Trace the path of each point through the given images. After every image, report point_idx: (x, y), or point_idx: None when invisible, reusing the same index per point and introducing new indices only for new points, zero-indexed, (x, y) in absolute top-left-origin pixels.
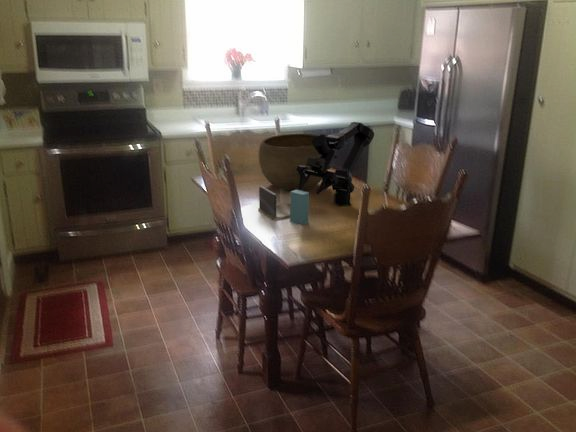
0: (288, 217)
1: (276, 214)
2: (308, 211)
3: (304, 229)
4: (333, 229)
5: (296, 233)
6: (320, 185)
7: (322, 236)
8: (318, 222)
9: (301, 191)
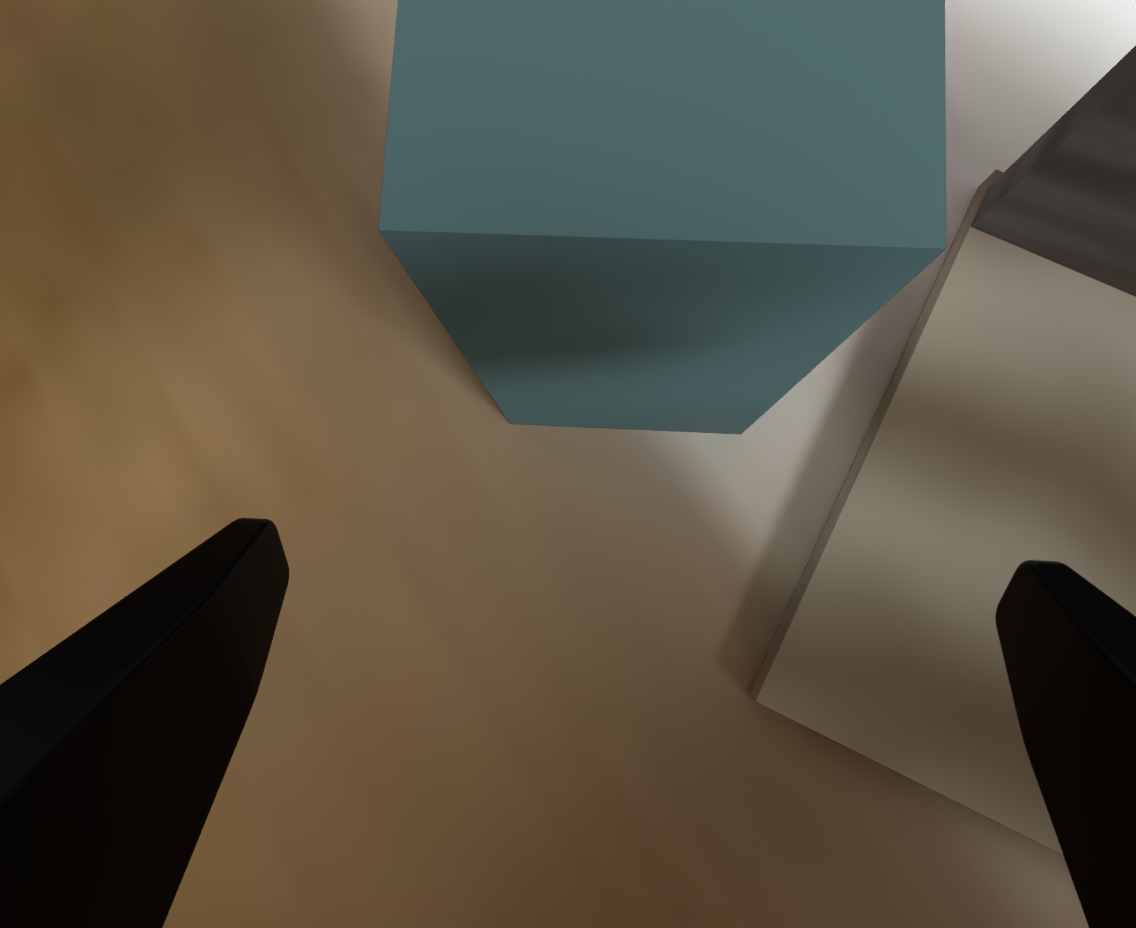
0: (873, 420)
1: (1062, 332)
2: (484, 382)
3: None
4: (87, 412)
5: None
6: (33, 729)
7: (91, 119)
8: (396, 522)
9: (661, 174)
